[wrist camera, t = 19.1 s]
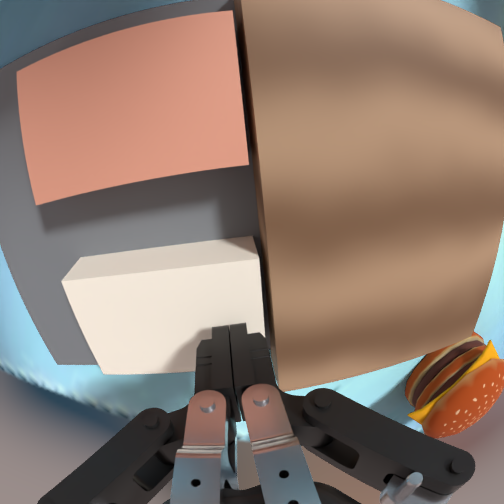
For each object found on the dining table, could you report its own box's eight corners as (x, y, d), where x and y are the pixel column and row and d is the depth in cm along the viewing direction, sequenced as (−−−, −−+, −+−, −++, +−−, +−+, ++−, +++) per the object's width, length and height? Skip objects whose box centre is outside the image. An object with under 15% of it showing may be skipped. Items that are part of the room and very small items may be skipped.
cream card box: (80, 257, 14) (61, 281, 12) (252, 235, 15) (259, 258, 12) (113, 345, 17) (103, 374, 14) (260, 332, 17) (266, 363, 15)
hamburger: (383, 389, 22) (415, 448, 16) (466, 309, 20) (514, 359, 14) (423, 409, 25) (448, 454, 19) (488, 347, 23) (522, 387, 17)
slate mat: (-26, 87, 9) (-29, 87, 9) (232, -2, 10) (233, -5, 10) (58, 361, 17) (57, 364, 17) (270, 345, 18) (271, 348, 18)
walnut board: (232, -2, 10) (237, -30, 7) (467, 31, 11) (500, 27, 8) (271, 356, 18) (279, 392, 16) (449, 313, 19) (471, 336, 16)
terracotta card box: (44, 75, 10) (16, 72, 8) (229, 28, 10) (232, 10, 8) (61, 190, 12) (36, 205, 10) (243, 156, 13) (248, 164, 11)
